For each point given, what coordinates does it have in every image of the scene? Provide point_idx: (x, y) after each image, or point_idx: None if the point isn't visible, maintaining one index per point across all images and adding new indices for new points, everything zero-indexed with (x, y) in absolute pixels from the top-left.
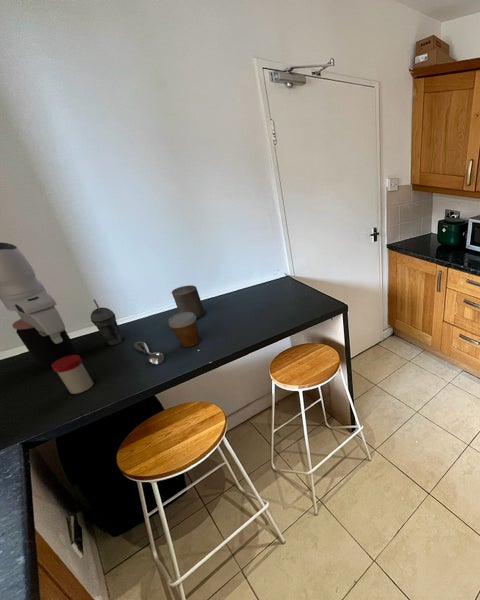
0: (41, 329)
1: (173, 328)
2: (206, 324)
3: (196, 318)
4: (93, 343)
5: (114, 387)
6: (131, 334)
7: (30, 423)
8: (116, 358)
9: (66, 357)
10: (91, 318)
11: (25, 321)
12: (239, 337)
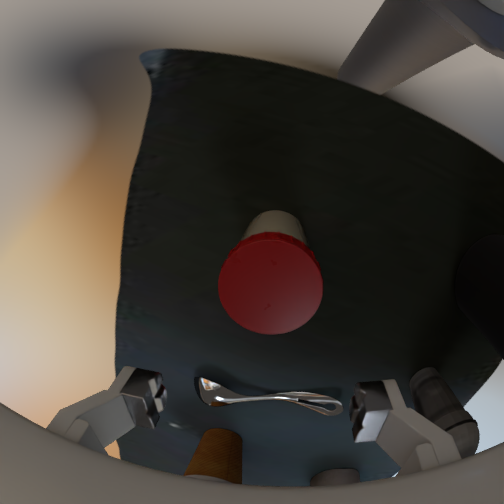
0: (28, 450)
1: (204, 473)
2: (269, 474)
3: (312, 478)
4: (470, 347)
5: (183, 283)
6: (412, 406)
7: (218, 97)
8: (340, 353)
9: (304, 305)
10: (466, 431)
11: (493, 462)
12: (156, 456)
